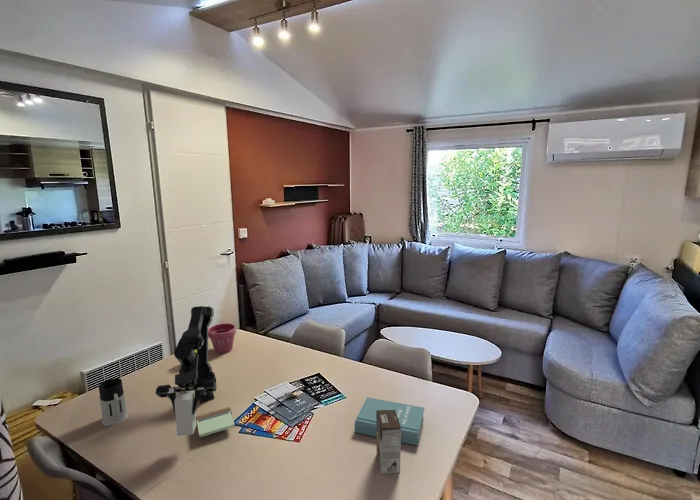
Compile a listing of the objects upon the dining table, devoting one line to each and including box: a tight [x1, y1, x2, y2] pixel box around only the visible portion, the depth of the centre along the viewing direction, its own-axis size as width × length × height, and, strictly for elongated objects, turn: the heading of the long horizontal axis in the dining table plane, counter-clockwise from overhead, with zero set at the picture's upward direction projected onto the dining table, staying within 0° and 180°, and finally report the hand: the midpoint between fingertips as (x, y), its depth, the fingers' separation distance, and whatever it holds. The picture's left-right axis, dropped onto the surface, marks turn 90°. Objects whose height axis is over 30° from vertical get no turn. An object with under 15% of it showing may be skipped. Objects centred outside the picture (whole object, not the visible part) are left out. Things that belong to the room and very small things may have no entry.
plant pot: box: [208, 322, 237, 355], centre depth 199 cm, size 14×14×13 cm
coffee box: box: [376, 410, 402, 475], centre depth 117 cm, size 9×6×16 cm
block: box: [174, 390, 197, 437], centre depth 124 cm, size 5×5×13 cm
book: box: [354, 396, 425, 447], centre depth 136 cm, size 23×16×5 cm
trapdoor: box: [197, 411, 236, 438], centre depth 134 cm, size 9×12×1 cm
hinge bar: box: [195, 406, 233, 429], centre depth 141 cm, size 4×13×2 cm, turn 118°
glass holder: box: [98, 377, 129, 427], centre depth 140 cm, size 9×14×15 cm, turn 44°
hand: (184, 415), depth 123 cm, fingers closed on block, 5 cm apart
